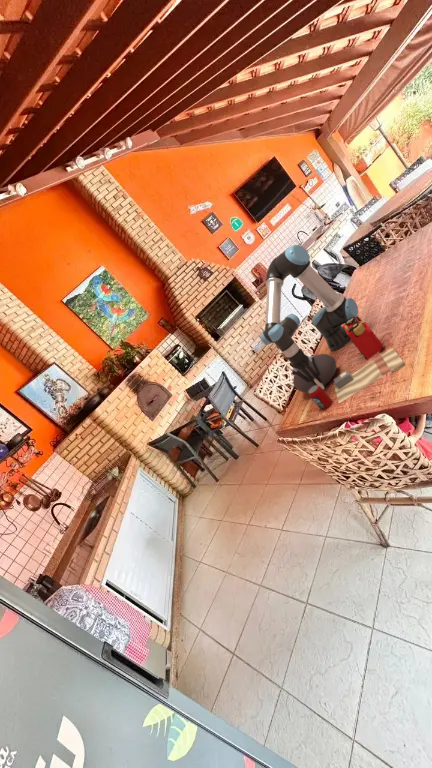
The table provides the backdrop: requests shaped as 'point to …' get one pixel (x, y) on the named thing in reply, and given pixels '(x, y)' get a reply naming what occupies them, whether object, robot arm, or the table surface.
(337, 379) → the block
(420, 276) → the table surface
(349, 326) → the red mechanical device
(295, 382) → the flattened ellipsoid
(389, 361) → the subfloor panel
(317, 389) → the beverage can
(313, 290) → the robot arm
